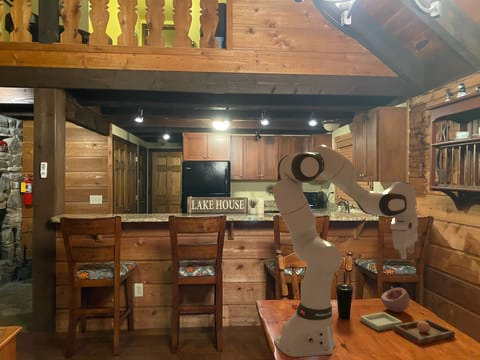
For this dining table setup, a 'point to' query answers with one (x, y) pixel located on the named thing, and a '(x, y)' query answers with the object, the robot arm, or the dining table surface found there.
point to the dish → (421, 338)
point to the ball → (423, 327)
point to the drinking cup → (344, 300)
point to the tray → (380, 321)
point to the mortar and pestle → (396, 299)
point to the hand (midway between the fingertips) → (407, 255)
